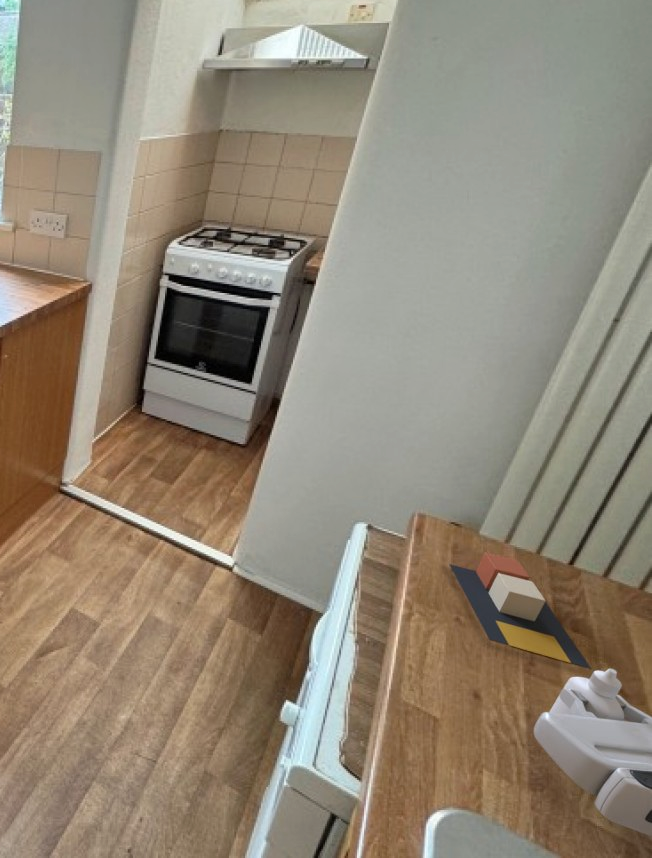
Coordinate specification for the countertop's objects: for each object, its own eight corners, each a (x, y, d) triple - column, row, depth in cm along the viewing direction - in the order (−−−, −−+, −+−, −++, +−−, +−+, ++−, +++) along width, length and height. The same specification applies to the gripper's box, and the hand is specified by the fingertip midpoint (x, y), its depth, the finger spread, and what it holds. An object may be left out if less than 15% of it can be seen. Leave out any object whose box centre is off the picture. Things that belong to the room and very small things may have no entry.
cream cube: (522, 601, 102) (532, 581, 100) (534, 621, 98) (545, 600, 96) (488, 592, 103) (498, 572, 102) (499, 611, 100) (509, 591, 98)
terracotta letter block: (507, 579, 106) (517, 559, 105) (519, 597, 102) (529, 577, 101) (475, 571, 108) (484, 551, 106) (485, 588, 104) (495, 568, 103)
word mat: (533, 588, 105) (535, 585, 105) (590, 672, 90) (592, 669, 90) (447, 566, 110) (449, 563, 110) (488, 642, 95) (490, 639, 94)
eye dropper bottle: (590, 728, 80) (631, 664, 76) (602, 763, 76) (646, 697, 72) (545, 709, 83) (582, 646, 78) (554, 742, 79) (593, 677, 74)
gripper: (833, 809, 63) (690, 687, 75) (613, 780, 65) (510, 667, 78) (800, 845, 65) (666, 722, 78) (588, 816, 67) (493, 701, 80)
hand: (587, 694), depth 78 cm, fingers closed on eye dropper bottle, 3 cm apart
